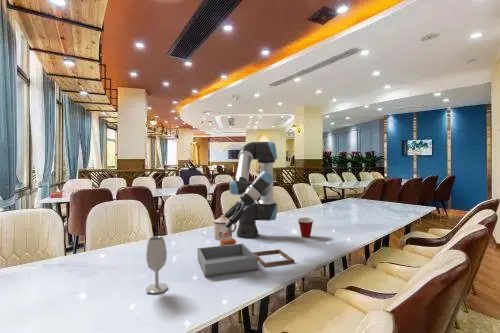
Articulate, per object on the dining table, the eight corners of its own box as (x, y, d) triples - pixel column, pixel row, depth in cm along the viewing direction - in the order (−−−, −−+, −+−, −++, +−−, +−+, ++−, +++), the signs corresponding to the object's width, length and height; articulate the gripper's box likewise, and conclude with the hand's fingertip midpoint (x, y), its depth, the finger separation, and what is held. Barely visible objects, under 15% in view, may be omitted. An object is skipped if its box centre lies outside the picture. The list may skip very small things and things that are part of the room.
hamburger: (222, 246, 175) (222, 235, 175) (237, 247, 173) (237, 236, 173) (217, 251, 166) (217, 240, 166) (234, 252, 164) (234, 240, 164)
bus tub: (197, 259, 153) (197, 248, 153) (242, 254, 161) (242, 243, 160) (205, 277, 129) (204, 264, 129) (257, 270, 137) (257, 257, 137)
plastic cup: (296, 238, 193) (295, 220, 192) (299, 234, 203) (299, 217, 202) (312, 239, 189) (312, 221, 188) (315, 235, 199) (315, 218, 198)
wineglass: (148, 285, 122) (147, 235, 121) (169, 284, 122) (169, 235, 122) (142, 295, 113) (141, 241, 112) (165, 293, 114) (164, 240, 113)
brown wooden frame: (252, 255, 159) (252, 252, 159) (279, 251, 164) (279, 249, 164) (263, 266, 141) (263, 263, 141) (294, 262, 146) (294, 259, 146)
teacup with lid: (219, 242, 138) (218, 217, 138) (211, 237, 146) (210, 214, 145) (240, 238, 144) (240, 215, 144) (232, 234, 152) (231, 212, 152)
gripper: (238, 189, 158) (210, 220, 153) (251, 193, 137) (218, 230, 132) (248, 198, 159) (220, 229, 155) (262, 204, 139) (230, 240, 134)
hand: (219, 230), depth 144 cm, fingers closed on teacup with lid, 9 cm apart
